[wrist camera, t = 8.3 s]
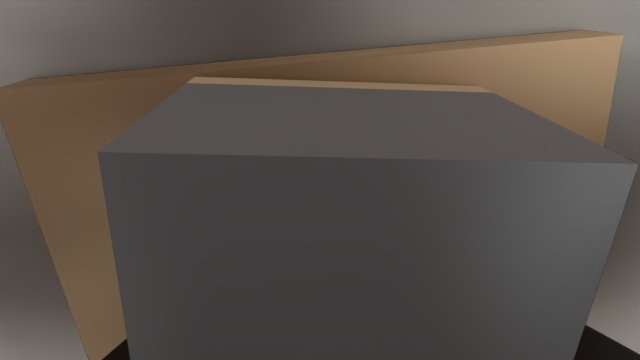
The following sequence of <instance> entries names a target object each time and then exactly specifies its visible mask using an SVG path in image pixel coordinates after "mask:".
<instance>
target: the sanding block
mask: <svg viewBox="0 0 640 360" xmlns="http://www.w3.org/2000/svg"><path fill="white" fill-rule="evenodd" d="M97 153H98V159H99V166H100V172H101V178H102V185H103V191H104V197H105V203H106V210H107V216H108V222H109V229H110V235H111V241H112V248H113V254H114V260H115V266H116V273H117V279H118V285H119V292H120V298H121V304H122V310H123V317H124V323H125V329H126V336H127V342H128V348H129V355H130V360H574V357H575V354H576V351H577V348H578V345H579V342H580V339H581V336H582V333H583V330H584V327H585V324H586V321H587V318H588V315H589V312H590V309H591V306H592V303H593V300H594V297H595V294H596V291H597V288H598V285H599V282H600V279H601V276H602V273H603V270H604V267H605V264H606V261H607V258H608V255H609V252H610V249H611V246H612V243H613V240H614V237H615V234H616V231H617V228H618V225H619V222H620V219H621V216H622V213H623V209H624V206H625V203H626V200H627V197H628V194H629V191H630V188H631V185H632V182H633V179H634V176H635V173H636V170H637V167H638V163H636V162H633V161H631V160H629V159H627V158H625V157H623V156H621V155H619V154H617V153H615V152H613V151H611V150H609V149H607V148H605V147H603V146H601V145H599V144H597V143H595V142H593V141H591V140H589V139H587V138H585V137H583V136H580V135H578V134H576V133H574V132H572V131H570V130H568V129H566V128H564V127H562V126H560V125H558V124H556V123H554V122H552V121H550V120H548V119H546V118H544V117H542V116H540V115H538V114H536V113H534V112H532V111H530V110H528V109H525V108H523V107H521V106H519V105H517V104H515V103H513V102H511V101H509V100H507V99H505V98H503V97H501V96H499V95H497V94H495V93H493V92H491V91H489V90H487V89H485V88H483V87H481V86H467V85H436V84H405V83H374V82H343V81H312V80H281V79H250V78H219V77H194V78H192V79H191V80H190V81H188V82H187V83H186V84H185V85H183V86H182V87H181V88H179V89H178V90H177V91H175V92H174V93H173V94H172V95H170V96H169V97H168V98H166V99H165V100H164V101H163V102H161V103H160V104H159V105H157V106H156V107H155V108H154V109H152V110H151V111H150V112H148V113H147V114H146V115H144V116H143V117H142V118H141V119H139V120H138V121H137V122H135V123H134V124H133V125H132V126H130V127H129V128H128V129H126V130H125V131H124V132H123V133H121V134H120V135H119V136H117V137H116V138H115V139H113V140H112V141H111V142H110V143H108V144H107V145H106V146H104V147H103V148H102V149H101V150H99V151H98V152H97Z"/></svg>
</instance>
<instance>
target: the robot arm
mask: <svg viewBox="0 0 640 360" xmlns="http://www.w3.org/2000/svg"><path fill="white" fill-rule="evenodd" d="M101 360H130V355H129V348H128V342H127V338H126V339H125V340H124V341H123V342H121V343H120V344H119V345H118V346H117V347H116V348H114V349H113V350H112V351H111V352H110V353H108V354H107V355H106V356H105V357H104V358H103V359H101ZM574 360H640V354H638V353H636V352H634V351H633V350H631V349H629V348H627V347H625V346H623V345H622V344H620V343H618V342H616V341H614V340H613V339H611V338H609V337H607V336H605V335H603V334H602V333H600V332H598V331H596V330H594V329H593V328H591V327H589V326H587V325H585V327H584V330H583V333H582V336H581V339H580V342H579V345H578V348H577V351H576V354H575V357H574Z"/></svg>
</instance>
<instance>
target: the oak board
mask: <svg viewBox="0 0 640 360" xmlns="http://www.w3.org/2000/svg"><path fill="white" fill-rule="evenodd" d="M622 41H623V34H614V33H605V32H597V31H588V30H576V31H565V32H553V33H542V34H531V35H520V36H508V37H497V38H486V39H475V40H463V41H452V42H441V43H430V44H418V45H407V46H396V47H385V48H374V49H362V50H351V51H340V52H329V53H317V54H306V55H295V56H284V57H272V58H261V59H250V60H239V61H227V62H216V63H205V64H194V65H182V66H171V67H160V68H149V69H137V70H126V71H115V72H104V73H92V74H81V75H70V76H59V77H47V78H36V79H28V80H25V81H21V82H18V83H15V84H12V85H8V86H5V87H2V88H0V119H1V122H2V125H3V128H4V130H5V133H6V136H7V139H8V141H9V144H10V147H11V149H12V152H13V155H14V158H15V160H16V163H17V166H18V169H19V171H20V174H21V177H22V179H23V182H24V185H25V188H26V190H27V193H28V196H29V199H30V201H31V204H32V207H33V209H34V212H35V215H36V218H37V220H38V223H39V226H40V229H41V231H42V234H43V237H44V239H45V242H46V245H47V248H48V250H49V253H50V256H51V259H52V261H53V264H54V267H55V269H56V272H57V275H58V278H59V280H60V283H61V286H62V289H63V291H64V294H65V297H66V299H67V302H68V305H69V308H70V310H71V313H72V316H73V319H74V321H75V324H76V327H77V329H78V332H79V335H80V338H81V340H82V343H83V346H84V349H85V351H86V354H87V357H88V359H89V360H101V359H103V358H104V357H105V356H106V355H107V354H108V353H110V352H111V351H112V350H113V349H114V348H116V347H117V346H118V345H119V344H120V343H121V342H123V341H124V340H125V339H126V338H127V336H126V329H125V323H124V317H123V310H122V304H121V298H120V292H119V285H118V279H117V273H116V266H115V260H114V254H113V248H112V241H111V235H110V229H109V222H108V216H107V210H106V203H105V197H104V191H103V185H102V178H101V172H100V166H99V159H98V153H97V152H98V151H99V150H101V149H102V148H103V147H104V146H106V145H107V144H108V143H110V142H111V141H112V140H113V139H115V138H116V137H117V136H119V135H120V134H121V133H123V132H124V131H125V130H126V129H128V128H129V127H130V126H132V125H133V124H134V123H135V122H137V121H138V120H139V119H141V118H142V117H143V116H144V115H146V114H147V113H148V112H150V111H151V110H152V109H154V108H155V107H156V106H157V105H159V104H160V103H161V102H163V101H164V100H165V99H166V98H168V97H169V96H170V95H172V94H173V93H174V92H175V91H177V90H178V89H179V88H181V87H182V86H183V85H185V84H186V83H187V82H188V81H190V80H191V79H192V78H194V77H219V78H250V79H281V80H312V81H343V82H374V83H405V84H436V85H467V86H481V87H483V88H485V89H487V90H489V91H491V92H493V93H495V94H497V95H499V96H501V97H503V98H505V99H507V100H509V101H511V102H513V103H515V104H517V105H519V106H521V107H523V108H525V109H528V110H530V111H532V112H534V113H536V114H538V115H540V116H542V117H544V118H546V119H548V120H550V121H552V122H554V123H556V124H558V125H560V126H562V127H564V128H566V129H568V130H570V131H572V132H574V133H576V134H578V135H580V136H583V137H585V138H587V139H589V140H591V141H593V142H595V143H597V144H599V145H601V146H603V147H604V144H605V139H606V133H607V127H608V121H609V116H610V110H611V104H612V98H613V93H614V87H615V81H616V75H617V70H618V64H619V58H620V52H621V47H622Z"/></svg>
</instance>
